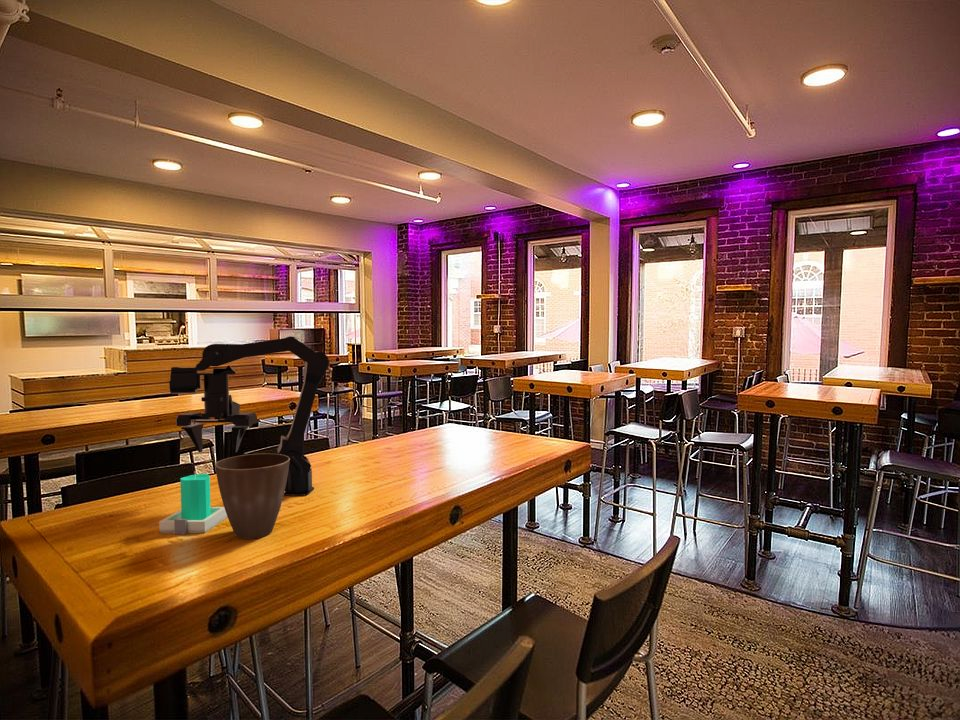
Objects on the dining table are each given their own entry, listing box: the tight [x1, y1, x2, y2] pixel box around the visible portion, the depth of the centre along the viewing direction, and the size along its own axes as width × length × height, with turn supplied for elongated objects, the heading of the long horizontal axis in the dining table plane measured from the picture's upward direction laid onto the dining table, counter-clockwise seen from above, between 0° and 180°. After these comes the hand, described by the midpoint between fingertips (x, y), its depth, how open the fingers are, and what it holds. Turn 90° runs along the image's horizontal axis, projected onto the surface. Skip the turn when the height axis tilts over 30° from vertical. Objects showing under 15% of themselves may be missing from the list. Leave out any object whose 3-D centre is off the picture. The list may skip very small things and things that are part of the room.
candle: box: [179, 472, 212, 520], centre depth 120 cm, size 6×6×12 cm
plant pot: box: [214, 453, 290, 540], centre depth 115 cm, size 15×15×16 cm
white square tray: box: [158, 506, 228, 535], centre depth 120 cm, size 10×11×3 cm
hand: (218, 452), depth 137 cm, fingers open, 9 cm apart
